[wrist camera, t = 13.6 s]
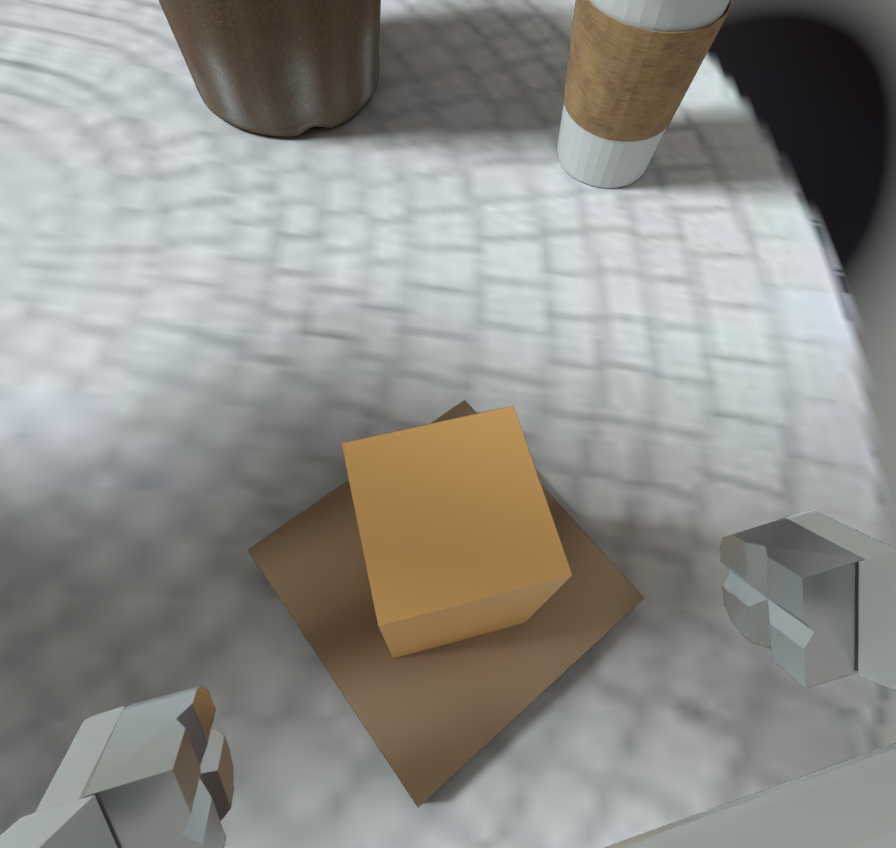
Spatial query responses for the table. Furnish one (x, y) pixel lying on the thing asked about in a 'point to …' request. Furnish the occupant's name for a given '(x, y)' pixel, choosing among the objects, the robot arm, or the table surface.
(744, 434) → the table surface
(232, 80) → the plant pot
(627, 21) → the coffee cup
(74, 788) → the robot arm
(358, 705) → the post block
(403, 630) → the tall orange pillar
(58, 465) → the table surface
